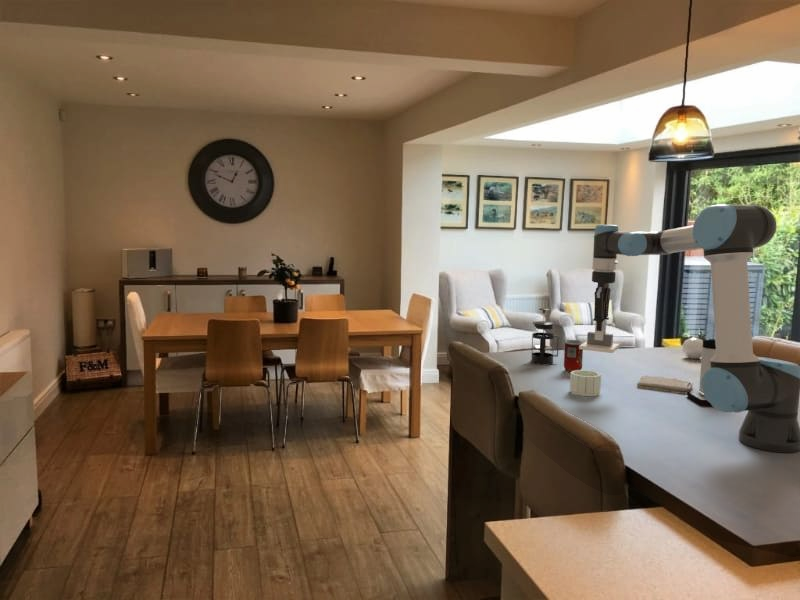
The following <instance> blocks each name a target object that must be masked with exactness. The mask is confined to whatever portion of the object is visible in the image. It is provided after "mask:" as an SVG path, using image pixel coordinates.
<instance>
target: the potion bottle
mask: <svg viewBox="0 0 800 600" xmlns="http://www.w3.org/2000/svg"><path fill="white" fill-rule="evenodd" d="M702 346H703V339H701V338H698V337H689V338H687V339H685V340H684V342H683V343H682V345H681V347H682V353H684V355H685V357H687V358H688V359H691V360H698V359H700V358H702V349H703V348H702Z"/></svg>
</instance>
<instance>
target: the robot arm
mask: <svg viewBox="0 0 800 600" xmlns="http://www.w3.org/2000/svg"><path fill="white" fill-rule="evenodd" d="M776 231H777V219H776V217H775V216H774V214H773V213H772V211H770V210H769V209H768V208H766V207H765V206H761V205H756V204H736V203H735V204H733V203H730V204H729V203H721V204H720V203H719V204H712V205H709V206H706V208H704V209H702V210H701V211H700V213H699V215H697V217H696V218H695V219H694V223H693V225H687V226H682V227H676V228H671V229H670V228H669V229H667V230H660V231H619V225H616V224H597V225H595V229H594V233H593V234H594V235H593V253H592V257H593V258H592V270H593V271H592V272H591V273H592V274H591V282H593V283H597V287H595V291H594V294H593V295H594V318H593V322H595V327H594V332H595V340H601V341H603V335H604V333H607V321H609V319H610V317H609V308H610V298H611V297H610V296H611V292H612V290H611V287H610V285H609V284H614V283H615V282H616V274H617V273H616V272H615V271H616V269H617V265H618V264H619V261H618V260H617V258H618V257H617V255H621V256H622V255H623V256H627V257H637V256H648V255H649V256H650V255H651V256H653V255H654V256H666V255H671V254H673V253H680V252H682V253H683V252H689V251H690V252H691V251H697V250H703V259H705V260H707V262H709V264H710V274H711V275H710V276H711V289H712V308H713V322H714V323H713V325H714V339H715V342H716V354H715V355H714V356H713V357H712V358H711V359H710V364H711V369H709V370H708V371H706V372H705V375H704V376H703V378H702V390H703V393H704V398H705V399H706V401H707V402H708V403H710V405H711V406H712V407H713V408H714V409H715V410H718V411H720V412H724V413H741V412H745V411H747V413H746V415H745V417H744V420H743V421H742V424H741V426H740V428H739V430H738V440H739V441H740V442H741V443H742V444H745V445H747V446H749V447H751V448H755V449H759V450H762V451H768V452H773V453H774V452H775V453H796V452H799V451H800V424H799V421H798V418H799V417H798V414H799V406H800V405H799V404H800V403H799V402H800V365H799V364H797V363H795V362H790V361H788V360H787V361H786V360H782V359H776V358H770V357H762V356H757V355H755V353H754V350H753V349H754V348H753V347H754V345H753V335H752V334H753V332H752V317H751V300H750V285H749V284H750V283H749V268H748V261H749V259H751V257H753V255H754V249H757V248H760V247H763V246H765V245H767V244H768V243H770V241H771V240H773V238H774V236H775V233H776Z"/></svg>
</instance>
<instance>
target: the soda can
mask: <svg viewBox="0 0 800 600" xmlns="http://www.w3.org/2000/svg"><path fill="white" fill-rule="evenodd" d="M583 343H584V342H582V341H580V340H577V339H576V340H574V339H569V340H568V339H567V340H566V341H565V342H564V350H563V351H564V353H563V355H564V356H563V357H564V358H563V368H564V369H565V370H564V371H565V372H566V371H567V372H566V373H569V372H572V371H575V370H583V358H584V357H583V356H584V353H583V352H584V350H581V349H579V346H580V345H581V344H583Z"/></svg>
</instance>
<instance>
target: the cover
mask: <svg viewBox="0 0 800 600" xmlns="http://www.w3.org/2000/svg"><path fill="white" fill-rule="evenodd" d="M582 343H583V344H581V345H580V346H579V349H581V350H583V351H590V352H591V351H592V352H599V353H609V354H613V353H615V352H616V351H617V350H619V348H620V345H621V344H620V343H614V334H613V333H609V332H608V333H607V332H606V333H604V335H603V341H601V340H595V331H588V332H587V337H586V341H585V342H582Z"/></svg>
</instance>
